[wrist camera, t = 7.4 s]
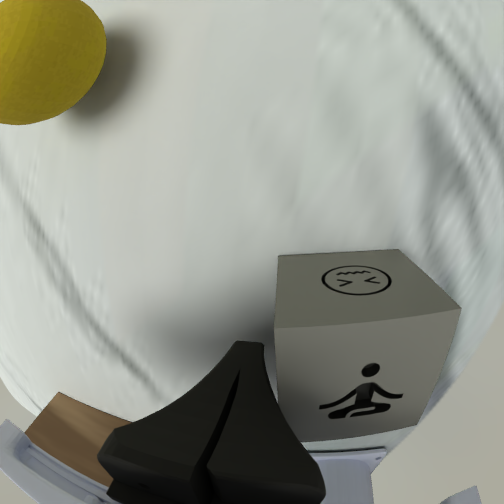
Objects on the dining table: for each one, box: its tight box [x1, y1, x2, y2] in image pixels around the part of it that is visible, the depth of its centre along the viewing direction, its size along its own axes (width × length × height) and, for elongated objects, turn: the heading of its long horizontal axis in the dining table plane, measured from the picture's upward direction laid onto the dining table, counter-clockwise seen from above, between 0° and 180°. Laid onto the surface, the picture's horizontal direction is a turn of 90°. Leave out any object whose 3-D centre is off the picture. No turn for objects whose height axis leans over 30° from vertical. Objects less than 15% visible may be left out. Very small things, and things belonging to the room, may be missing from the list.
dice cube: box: [274, 249, 462, 442], centre depth 9 cm, size 5×5×5 cm
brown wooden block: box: [25, 392, 132, 487], centre depth 14 cm, size 2×14×7 cm, turn 88°
